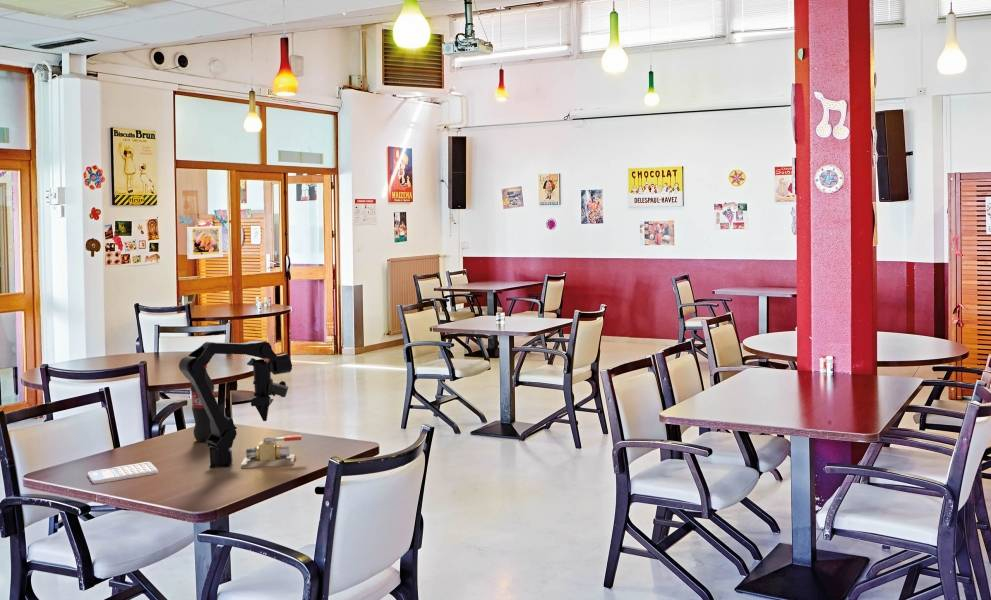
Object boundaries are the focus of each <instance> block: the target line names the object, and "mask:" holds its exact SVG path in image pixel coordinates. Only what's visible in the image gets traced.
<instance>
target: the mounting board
mask: <svg viewBox="0 0 991 600" xmlns="http://www.w3.org/2000/svg"><path fill="white" fill-rule="evenodd" d="M296 455H297V454H296V453H292V454H291V453H290V457H287V459H276V461H264V462H260V460H256V461H250V459H247V457H246V456H245V457H244V458H243V460H242V461H241V463H240V468H241V469H246V468H248V469H249V468H261V467H264V468H265V467H278V466H293V465H294V463H295V460H296V458H297V457H296Z"/></svg>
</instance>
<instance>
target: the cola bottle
mask: <svg viewBox="0 0 991 600" xmlns="http://www.w3.org/2000/svg"><path fill="white" fill-rule="evenodd" d="M207 368H208V364H207V365H206V366H205V370H206V381H207V383H208V385H209V387H210V389H211V391H212V393H213V395H214V396H215V385H214V382H213V380H212V379H211V377H210V375H209V374H208V371H207ZM190 392H191V393H190V394H191V412H192V414H193V415H192V416H193V419H194V428H193V437H194V439H195V440H196V441H197V442H200V443H206V440H207V439H208V437H209V436H210V435H211V433H212V432H211V428H210V419H209V417H208V415H207V413H206V411H205V409H204V407H203V404H202V402H201V400H200V398H199V396H198V394H197V392H196V390H195V388H194V386H193V384H192V383H191V386H190Z"/></svg>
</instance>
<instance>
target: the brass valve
mask: <svg viewBox="0 0 991 600" xmlns="http://www.w3.org/2000/svg"><path fill="white" fill-rule="evenodd" d="M245 455H246V456H245V457H247V459H250V461H256V460H260V462H264V461H276V459H287V457H290V455H291V447H290V445H279V444H278V445H277V441H271V442H264V440H261V441H260V442H259V445H258V446H255V447H252V448H246V451H245Z"/></svg>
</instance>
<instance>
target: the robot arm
mask: <svg viewBox="0 0 991 600" xmlns="http://www.w3.org/2000/svg"><path fill="white" fill-rule="evenodd" d="M216 354H217V355H246V356H251V358H250V360H248V362H247V363H246V365H247V366H251V367H252V368H253V371H252V372H253V381H252V385H253V386H254V392H253V397H252V398H251V400H250V406H251V407H255V408H256V410H257V412H258V414H259V415H260V417H261V419H262V421H263V422H267V420H268V415H269V408H270V405H271V404H272V403H273V401H274V398H272V397H271V396H273V397H276V396H280V397H282V398H286V396H287V394H288V390H289V386H288V385H287V384H286V383H287V382H286V381H284V380H281V381H280V382H279V383H278V382H274V379H273V378H272V377H271V376H272V375H274V376H275V375H276V376H277V375H282V374H288V373H291V371H292V369H293V363H292V361H291V359H290V358H289V354H288V353H282V354H276V353H275V351H273V349H272V345H271V344H270V342H267V341H264V340H251V341H246V342H214V341H205V342H204V343H202V344H201V345H200V346H199V347H198V348H196V349H195V350H193V351H192V352H190V354H188V355H187V356H186V355H185V356H184V357H182V358H181V359H180V361H179V363H178V369H179V370H180V372H181V374H183V376H184V377H185V378H186V379H187V380H188V381H189V382H190V383H191V384H193V386H194V388H195V390H196V392H197V394H198V396H199V398H200V400H201V402H202V404H203V407H204V409H205V411H206V413H207V415H208V417H209V419H210V428H211V432H212V433H211V435H210V436H209V437H208V439H207V440H206V442H205V443H206V445H207V447H209V466H208V467H209V468H210V469H211V468H226V467H228V468H229V467H230V466H231V464H232V463H233V449H232V447H233V444H234V442H235V439H236V437H237V435H238V433H237V429H238V427H237V426H236V425H235V423H234V419H233V418H232V417H228V416H225V415H224V413H223V412H222V410H221V408H220V406H219V404H218V401H217V399H216V397H215V394H214V395H213V393H212V391H211V389H210V387H209V385H208V383H207V381H206V370H207V369H206V370H205V366H206V365H207V366H208V364H209V363H210V361H211V360H212V358H213V356H214V355H216ZM254 357H255V358H254ZM256 358H259V359H256ZM265 359H266V360H265ZM271 373H272V374H271Z"/></svg>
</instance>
